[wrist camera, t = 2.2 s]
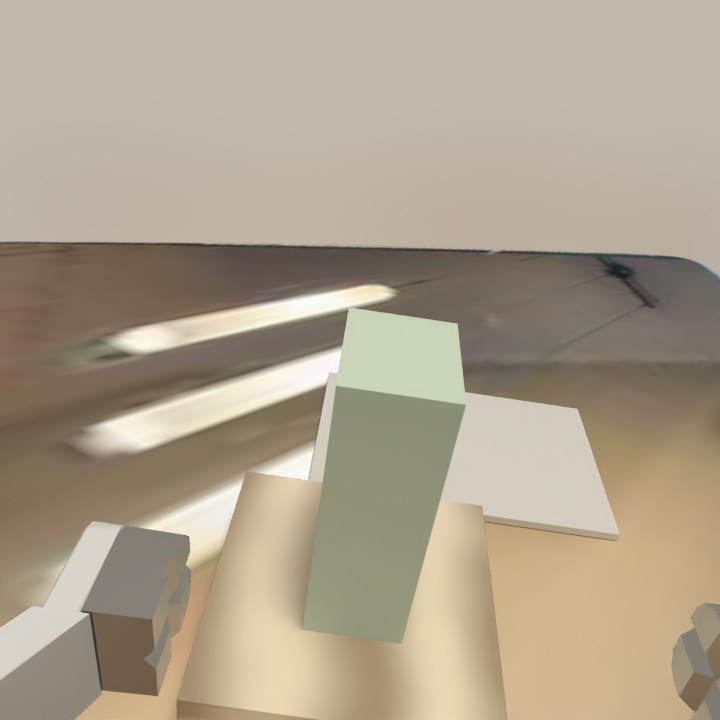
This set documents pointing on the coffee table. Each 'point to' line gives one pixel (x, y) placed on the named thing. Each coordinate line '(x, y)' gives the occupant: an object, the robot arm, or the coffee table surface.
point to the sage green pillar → (383, 472)
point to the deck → (336, 652)
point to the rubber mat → (515, 465)
